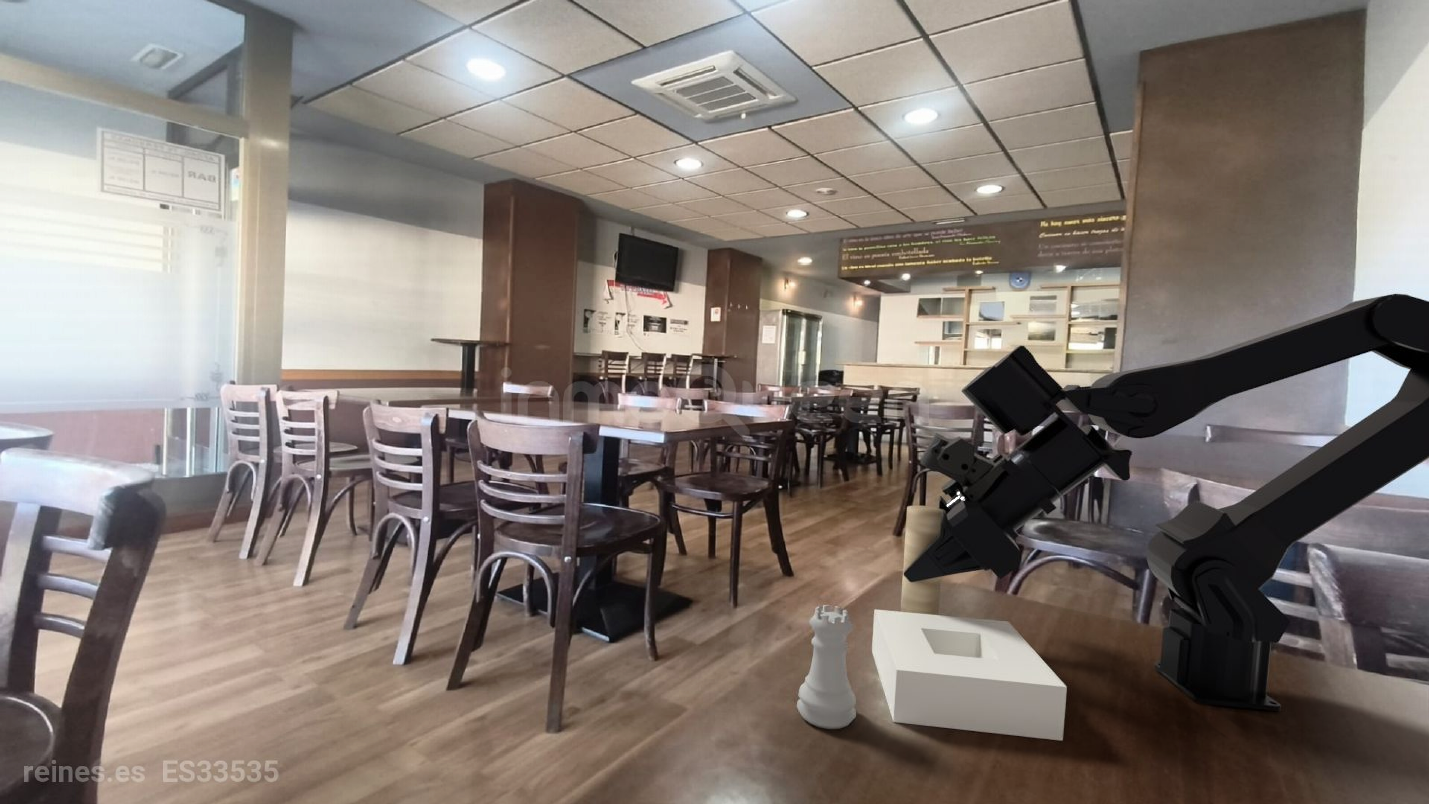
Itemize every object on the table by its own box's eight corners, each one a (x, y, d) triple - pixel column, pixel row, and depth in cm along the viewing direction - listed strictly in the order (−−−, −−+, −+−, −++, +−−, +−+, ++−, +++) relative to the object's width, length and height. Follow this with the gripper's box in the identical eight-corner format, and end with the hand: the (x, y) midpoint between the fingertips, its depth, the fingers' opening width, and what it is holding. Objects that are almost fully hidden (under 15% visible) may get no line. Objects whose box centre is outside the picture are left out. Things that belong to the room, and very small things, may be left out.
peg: (932, 632, 63) (940, 507, 62) (940, 648, 60) (949, 515, 59) (896, 629, 64) (904, 504, 63) (902, 644, 60) (911, 512, 59)
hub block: (1005, 664, 57) (1008, 621, 57) (1062, 740, 45) (1066, 687, 45) (871, 651, 58) (874, 609, 58) (893, 721, 46) (896, 669, 46)
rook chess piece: (861, 733, 45) (868, 625, 44) (799, 730, 45) (805, 621, 44) (849, 700, 49) (855, 602, 49) (793, 697, 49) (798, 598, 49)
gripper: (969, 404, 68) (860, 492, 72) (986, 412, 50) (841, 528, 54) (1043, 482, 66) (927, 569, 70) (1088, 519, 48) (930, 632, 52)
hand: (907, 571), depth 62 cm, fingers open, 4 cm apart
